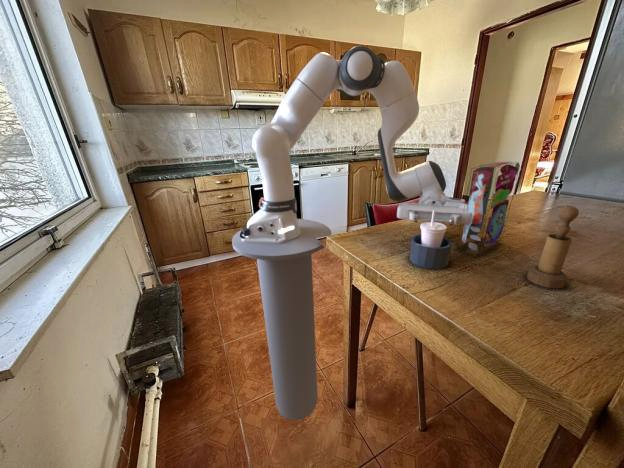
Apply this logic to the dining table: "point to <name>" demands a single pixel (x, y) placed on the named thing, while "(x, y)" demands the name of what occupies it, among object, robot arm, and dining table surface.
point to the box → (480, 199)
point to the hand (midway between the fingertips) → (433, 221)
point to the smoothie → (432, 233)
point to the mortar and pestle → (554, 253)
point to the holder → (430, 253)
